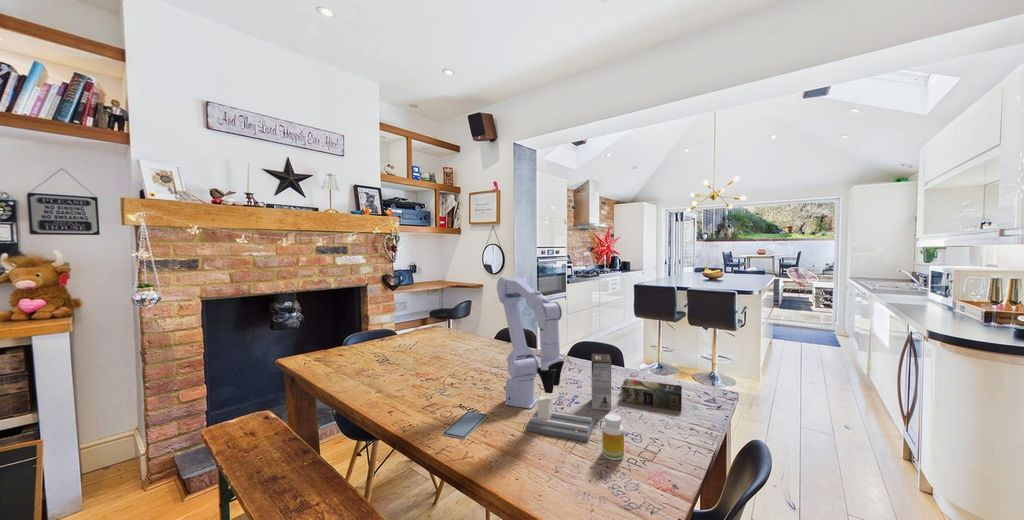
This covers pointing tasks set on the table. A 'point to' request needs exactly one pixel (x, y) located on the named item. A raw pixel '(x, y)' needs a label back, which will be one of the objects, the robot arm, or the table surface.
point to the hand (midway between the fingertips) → (552, 388)
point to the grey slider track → (563, 425)
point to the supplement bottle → (613, 437)
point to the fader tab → (544, 407)
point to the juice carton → (652, 394)
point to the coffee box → (601, 381)
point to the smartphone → (465, 425)
